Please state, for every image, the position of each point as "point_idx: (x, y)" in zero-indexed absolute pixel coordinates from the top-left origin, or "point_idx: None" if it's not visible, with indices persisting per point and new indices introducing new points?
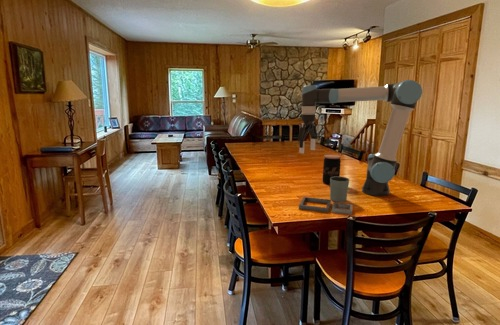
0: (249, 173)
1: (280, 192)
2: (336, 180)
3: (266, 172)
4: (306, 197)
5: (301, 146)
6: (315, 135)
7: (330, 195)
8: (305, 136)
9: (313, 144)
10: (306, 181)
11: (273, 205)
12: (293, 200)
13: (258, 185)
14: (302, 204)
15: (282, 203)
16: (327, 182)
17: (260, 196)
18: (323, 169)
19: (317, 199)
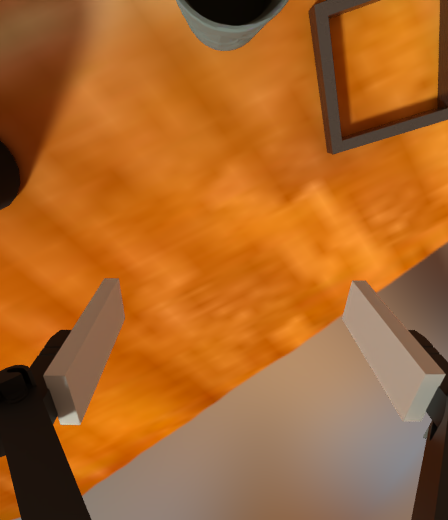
0: (136, 448)
1: (277, 274)
2: (189, 3)
3: None
4: (337, 139)
5: (426, 343)
6: (5, 438)
7: (251, 38)
8: (443, 457)
9: (99, 333)
10: (60, 268)
11: (437, 219)
12: (348, 187)
13: (244, 366)
14: (426, 113)
15: (402, 204)
16: (17, 170)
17: None
18: None
19: (334, 80)
